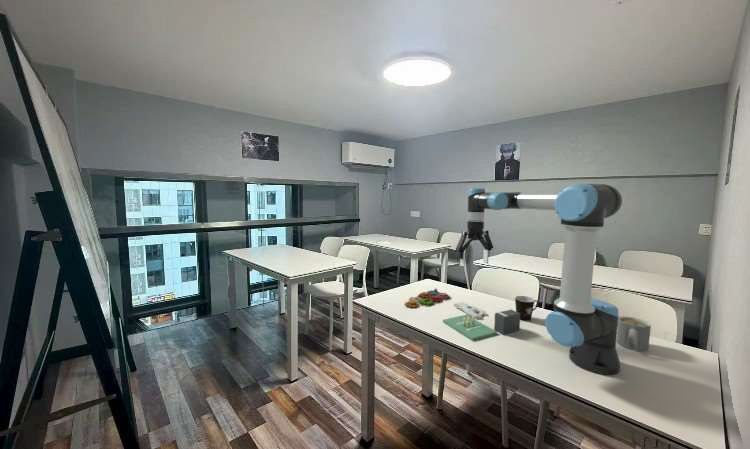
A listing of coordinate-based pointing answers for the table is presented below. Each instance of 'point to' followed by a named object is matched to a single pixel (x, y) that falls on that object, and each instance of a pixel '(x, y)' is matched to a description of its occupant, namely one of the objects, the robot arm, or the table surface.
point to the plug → (507, 322)
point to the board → (469, 327)
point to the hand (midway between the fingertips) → (474, 264)
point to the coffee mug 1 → (525, 307)
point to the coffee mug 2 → (633, 333)
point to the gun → (470, 310)
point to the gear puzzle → (427, 299)
